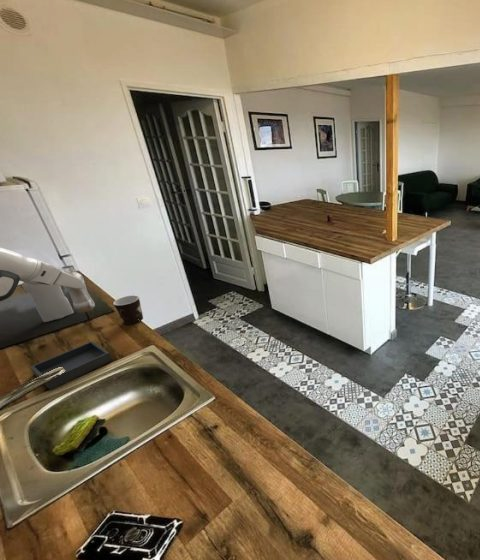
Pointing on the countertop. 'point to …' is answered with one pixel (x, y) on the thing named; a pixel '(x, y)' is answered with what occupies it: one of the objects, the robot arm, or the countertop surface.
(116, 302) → the coffee mug
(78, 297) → the plastic bottle
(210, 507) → the countertop surface
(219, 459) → the countertop surface
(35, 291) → the grey tall flat block
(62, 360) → the dark blue tray
